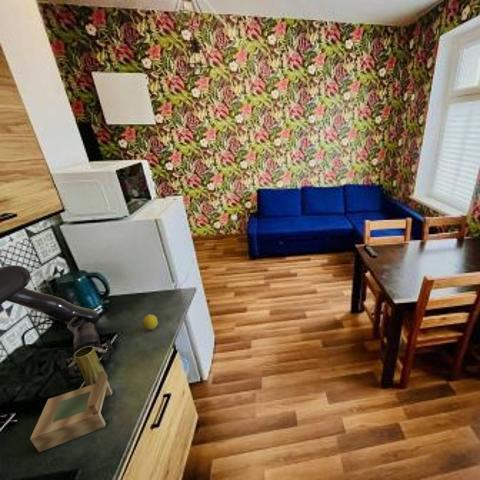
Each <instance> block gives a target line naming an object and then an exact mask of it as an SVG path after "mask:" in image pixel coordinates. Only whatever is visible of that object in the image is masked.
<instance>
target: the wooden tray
mask: <svg viewBox="0 0 480 480" xmlns="http://www.w3.org/2000/svg"><path fill="white" fill-rule="evenodd" d="M112 395H113V390H112V388H111V386H110V383H109V381H108V379H106V376H105V374H104V372H103V371H102V372H99V374H98V377H97V381H96V384H93V385H90V386H87V387H86V386H84V387H80V388H77V389H75V390H72V391H69V392H66V393H63V394H59V395H56V396H53V397H50V398H48V399H47V401H46V403H45V405H44V407H43V410H42V412H41V414H40V416H39V418H38V421H37V423H36V425H35V427H34V429H33V432H32V434H31V436H30V438H29V440H30V442H31V443H32V444H33V446H34V447H35V449H36V450H37V452H38V453H41V452H44V451H47V450H49V449H52V448H54V447H56V446H59V445H62V444H64V443H67V442H69V441H72V440H74V439H78V438H79V437H82V436H86V435H88V434H90V433H92V432H95V431H97V430H100V429H103V428H105V427H106V421H105V419H104V417H103V415H102V409H103V404H104V400H105V398H107V397H111V396H112Z"/></svg>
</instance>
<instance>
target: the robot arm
mask: <svg viewBox="0 0 480 480" xmlns="http://www.w3.org/2000/svg"><path fill="white" fill-rule="evenodd" d="M31 276H32V275H31V272H30V271H29V269H27V268H26V267H24V266H22V265H13V264H12V265H5V266H1V267H0V306H2V305H3V304H4V303H6V302H9V303H12V304H16V305H19V306H22V307H25V308H28V309H31V310H34V311H36V312H39V313H41V314H43V315H45V316H47V317H50V318H51V319H54V320H56V321H58V322H62V323H65V322H68V321H69V322H68V323H67V326H66V329H67V330H68V331H69V332H70V333H71V334H72V335H73V343H72V345H73V346H72V347H73V355H72V356H71V357H68V358H67V357H63V358H62V359H61V365H60V366H61V367H60V369H61V372H62V373H63V375H67V374H68V376H69V377H70V378H73V379H75V378H77V369H79V367H78V365H77V362H76V360H75V358H74V354H75V352H77V351H78V350H79V349H81V348H83V347H86V346H93V347H94V350H95V352H96V354H97V356H98V358H99V359H101V358H102V359H103V361H104V364H105V365H106V364H108V363H109V362H110V355H113V354H115V349H114V347H113V345H112V342H111V340H110V339H107V340H106V341H105V343H102V344H101V341H100V340H101V339H100V335H99V334H98V329H97V326H96V324H97V323H98V322H99V321H100V319H101V316H100V313H99V312H98V311H96V310H95V309H91V308H87V307H83V306H79V305H75V304H73V303H71V302H68V301H67V300H65V299H64V298H61V297H59V296H55V295H51V294H47V293H43V292H39V291H35V290H32V289H29V288H28V287H27V286H28V285H29V284H30V281H31ZM104 348H105V349H104Z"/></svg>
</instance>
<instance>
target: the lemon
mask: <svg viewBox="0 0 480 480" xmlns="http://www.w3.org/2000/svg"><path fill="white" fill-rule="evenodd" d="M142 326H143V328H144V329H145V330H148V331H153V330H154V329H156V328H157V326H158V318H157V317H156V316H155V315H154V314H147V315H145V316H144V317H143V318H142Z"/></svg>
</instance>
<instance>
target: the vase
mask: <svg viewBox="0 0 480 480" xmlns="http://www.w3.org/2000/svg"><path fill="white" fill-rule="evenodd" d="M73 355H74V358H75V360H76V362H77V365H78V369H79V371H80V374H81V376H82V379H83V381H84V384H85V387H87V386H90V385H93V384H96V381H97V377H98V374H99V372H102V371H103V372H104V374H105V376H106V379H107V380H108V379H109V376H108V374H107V372H106V370H105V368H104V366H103V364H102V363H101V361H100V357H98V356H97V354H96V352H95V350H94V347H93V346H86V347H83V348H81V349H79V350H78V351H77V352H75V354H74V353H73Z"/></svg>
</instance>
